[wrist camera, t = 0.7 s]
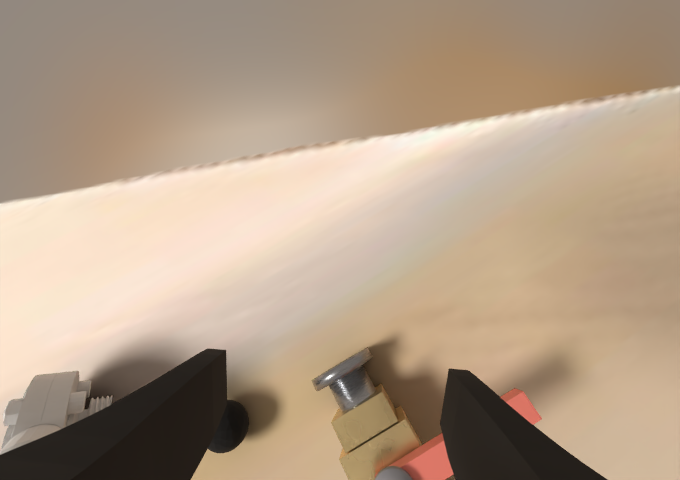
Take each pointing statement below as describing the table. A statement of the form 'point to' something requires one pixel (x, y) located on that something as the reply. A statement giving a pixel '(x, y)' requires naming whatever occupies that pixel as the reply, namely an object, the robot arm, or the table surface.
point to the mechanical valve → (88, 412)
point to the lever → (431, 458)
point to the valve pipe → (366, 420)
